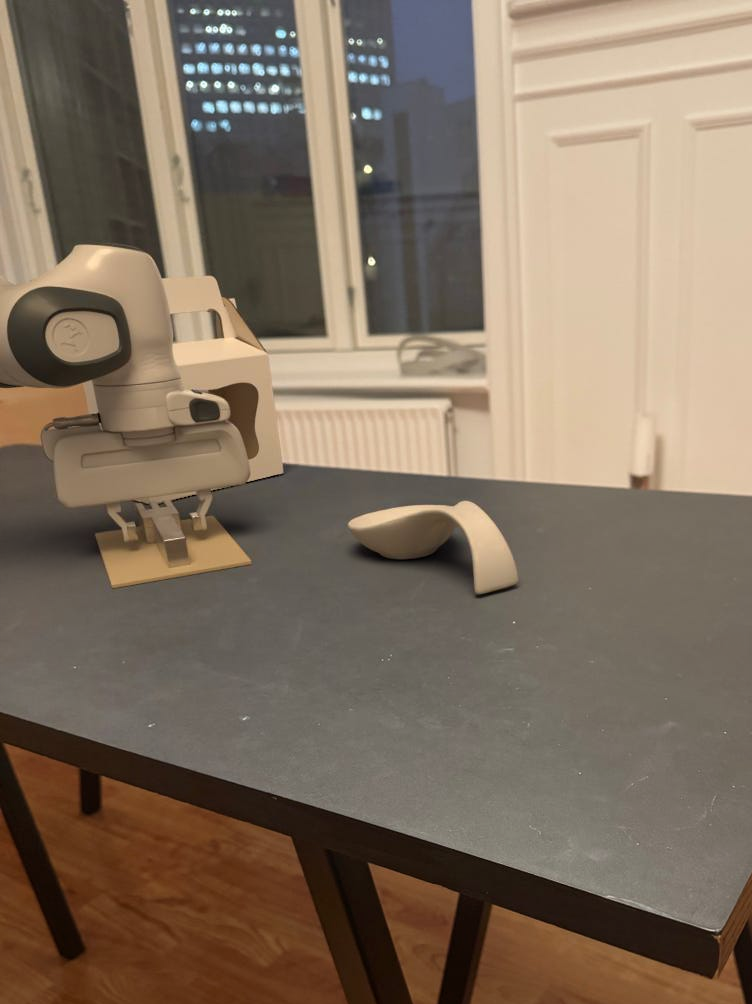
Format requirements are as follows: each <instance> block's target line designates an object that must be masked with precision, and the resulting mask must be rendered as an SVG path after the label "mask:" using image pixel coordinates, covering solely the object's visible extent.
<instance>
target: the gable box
mask: <svg viewBox="0 0 752 1004" xmlns="http://www.w3.org/2000/svg"><path fill="white" fill-rule="evenodd" d="M161 279H162V282H163V285H164V289H165V293H166V297H167V301H168V306H169V311H170V315H177V314H187V313H202V312H207V313H213V312H214V313H215V320H216V322H215V323H216V324H215V325H216V338H213V339H203V340H194V341H183V342H177V343H173V345H172V348H173V356H174V360H175V363H176V365H177V367H178V369H179V371H180V375H181V381H182V387H183V388H184V389H188V390H192V389H193V390H205V391H208V394H213V395H216V396H219V397H221V398H223V399H224V400H226V401H227V402H228V404H229V407H230V418H229V419H228V421H229V422H231V423H232V424H233V425H234V426H235V427H236V428H237V429H238V430H239V432H240V434H241V436H242V439H243V442H244V446H245V449H246V453H247V457H248V461H249V466H250V477H249V479H248V481H247V482H250V481H254V480H257V479H262V478H266V477H270V476H273V475H277V474H282V473H283V474H284V473H285V472H284V464H283V457H282V449H281V441H280V440H281V439H280V433H279V426H278V420H277V419H278V417H277V411H276V403H275V396H274V387H273V381H272V373H271V365H270V358H269V357H270V356H269V353H268V352H267V350H266V348H265V347H264V346H263V344H262V343H261V341H260V340H259V339H258V337H257V335H256V334H255V333H254V331H252V329H251V327H250V325H248V323H247V322H246V321H245V318H243V316H242V314H241V313H240V312H239V310H238V307H237V303H236V300H235V299H236V298H234V297H232V298H227V296H222V294H221V290H220V288H219V285H218V281H217V279H216V278H215V277H214V276H212V275H200V276H198V275H197V276H181V277H163V278H161ZM82 386H83V391H84V396H85V400H86V405H87V410H88V414H96V413H98V408H97V403H96V398H95V393H94V388H93V383H92V380H90V381H87V382H84V383H82ZM99 424H100V423H99ZM100 427H101V424H100ZM101 429H102V428H101ZM266 479H267V478H266ZM262 480H263V479H262ZM254 482H255V481H254ZM250 483H251V482H250ZM222 488H224V489H228V488H232V487H231V486H229V487H228V488H227V487H222ZM222 488H215V489H211V491H212V492H214V491H213V490H216V491H218V490H217V489H220V490H223V489H222ZM192 495H195V496H197V495H196V491H194V492H186V493H179V494H172V495H165V496H158V497H151V498H144V499H136V500H133V501H134V502H137V503H141V502H142V504H144V505H145V504H146V505H149V502H151V501H156V502H157V504H158V505H160V504H163V500H165V499H169V500H170V501H171V502H174V501H177V500H176V499H178V500H181V499H180V498H182V499H185V498H184V497H186V498H189V497H188V496H190V497H193V496H192ZM173 500H174V501H173Z"/></svg>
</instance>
